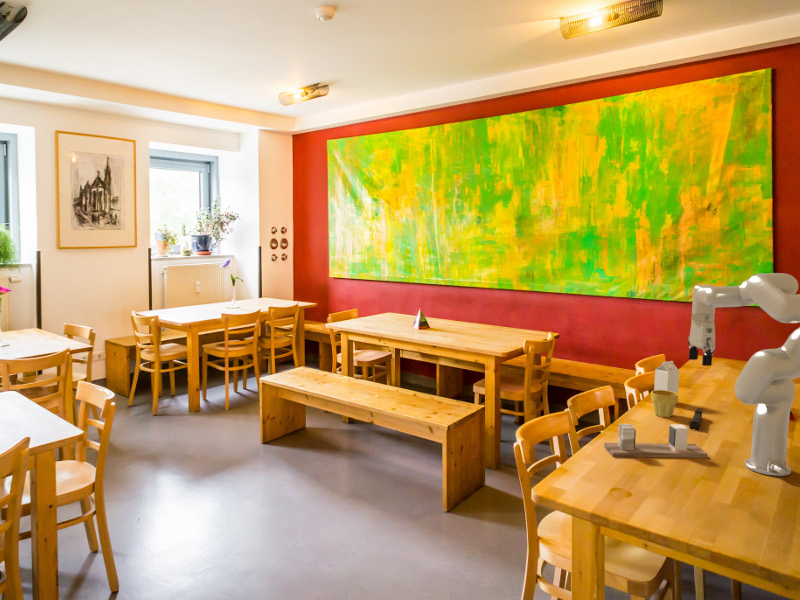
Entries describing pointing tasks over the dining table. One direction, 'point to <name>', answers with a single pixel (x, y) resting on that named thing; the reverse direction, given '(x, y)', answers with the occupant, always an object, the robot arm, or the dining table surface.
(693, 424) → the hand tool
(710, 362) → the robot arm
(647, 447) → the rail
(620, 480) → the dining table surface
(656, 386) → the milk carton
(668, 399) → the plant pot
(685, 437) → the block
